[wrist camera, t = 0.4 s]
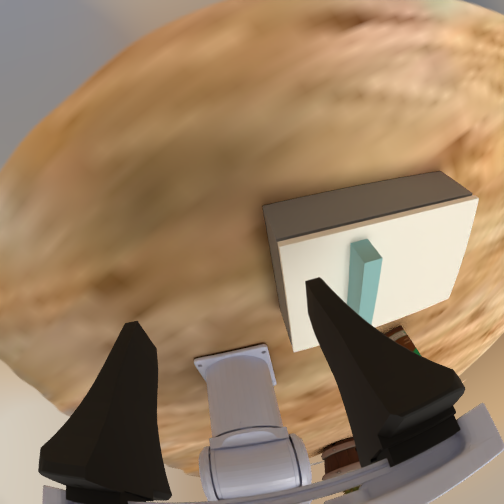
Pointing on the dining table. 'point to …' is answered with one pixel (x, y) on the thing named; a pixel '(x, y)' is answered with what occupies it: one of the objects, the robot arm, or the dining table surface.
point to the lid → (379, 264)
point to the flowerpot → (341, 460)
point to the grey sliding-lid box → (351, 211)
